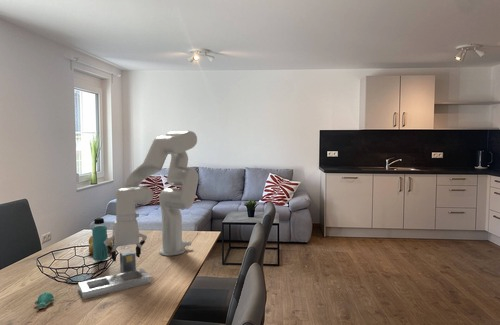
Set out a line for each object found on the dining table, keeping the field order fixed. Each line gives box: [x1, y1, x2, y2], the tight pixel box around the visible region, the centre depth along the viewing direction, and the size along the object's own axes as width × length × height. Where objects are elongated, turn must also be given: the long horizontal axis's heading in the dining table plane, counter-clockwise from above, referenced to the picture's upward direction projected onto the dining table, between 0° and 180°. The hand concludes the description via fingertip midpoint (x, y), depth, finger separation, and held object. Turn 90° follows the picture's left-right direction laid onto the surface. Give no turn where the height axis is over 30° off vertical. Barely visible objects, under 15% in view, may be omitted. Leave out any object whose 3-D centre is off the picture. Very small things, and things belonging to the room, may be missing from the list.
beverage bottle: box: [91, 217, 109, 262], centre depth 156 cm, size 6×7×20 cm
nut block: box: [119, 249, 137, 273], centre depth 144 cm, size 5×5×8 cm
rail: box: [77, 268, 152, 300], centre depth 130 cm, size 24×10×2 cm, turn 125°
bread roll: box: [88, 235, 113, 255], centre depth 170 cm, size 13×10×8 cm
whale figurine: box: [34, 291, 55, 309], centre depth 115 cm, size 6×7×4 cm
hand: (126, 258), depth 144 cm, fingers open, 9 cm apart
